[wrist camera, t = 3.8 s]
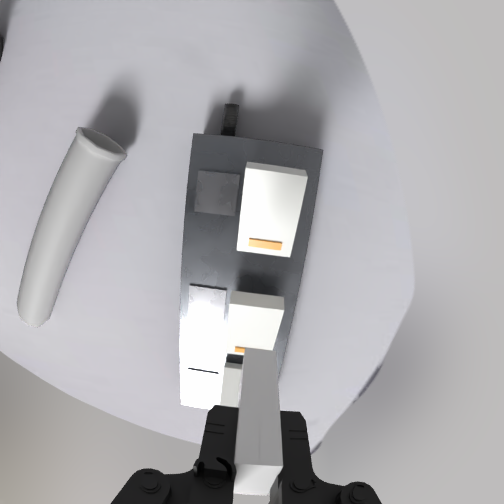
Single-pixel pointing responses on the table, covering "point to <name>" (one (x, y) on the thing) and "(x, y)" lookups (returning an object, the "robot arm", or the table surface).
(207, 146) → the power strip
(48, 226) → the tube
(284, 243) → the block
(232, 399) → the block
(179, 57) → the table surface
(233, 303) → the block
